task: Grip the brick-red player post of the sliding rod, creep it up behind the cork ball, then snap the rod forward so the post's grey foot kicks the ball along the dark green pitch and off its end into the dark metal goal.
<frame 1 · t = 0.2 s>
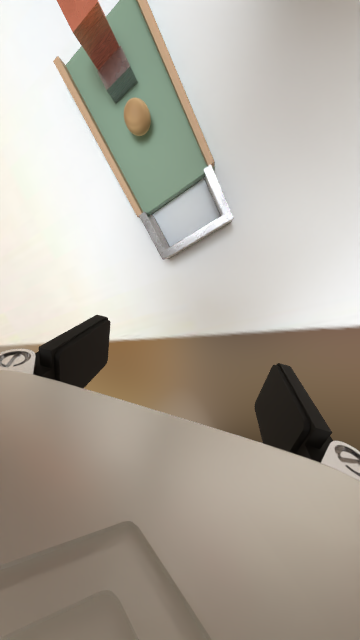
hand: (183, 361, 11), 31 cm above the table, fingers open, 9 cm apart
pitch: (142, 125, 32), on the table
goal: (187, 217, 36), on the table
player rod: (98, 39, 25), point 6 cm above the table, slide at 0.0 cm
ball: (137, 117, 29), point 4 cm above the table, touching pitch
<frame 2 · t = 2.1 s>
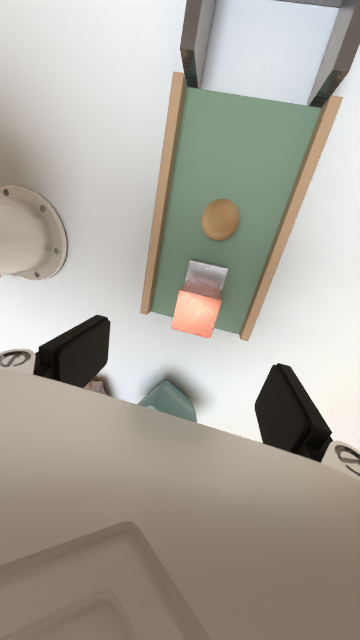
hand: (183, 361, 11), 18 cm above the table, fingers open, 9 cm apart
pitch: (217, 233, 25), on the table
flower pot: (169, 394, 35), on the table
goal: (262, 55, 19), on the table
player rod: (199, 298, 22), point 6 cm above the table, slide at 0.0 cm
ball: (220, 220, 21), point 4 cm above the table, touching pitch
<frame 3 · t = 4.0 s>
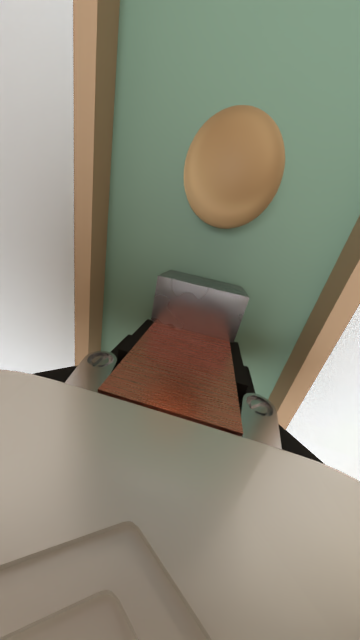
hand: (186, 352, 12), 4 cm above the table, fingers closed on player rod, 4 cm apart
pitch: (221, 216, 12), on the table
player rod: (182, 365, 9), point 6 cm above the table, slide at 0.0 cm, touching gripper
ball: (231, 176, 8), point 4 cm above the table, touching pitch
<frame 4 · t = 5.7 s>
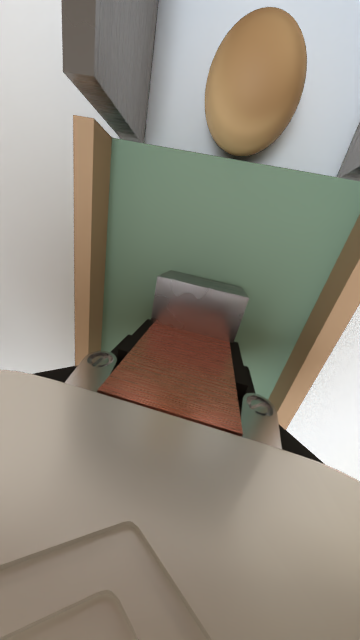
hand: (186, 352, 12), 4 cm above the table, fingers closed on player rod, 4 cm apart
pitch: (187, 349, 16), on the table
goal: (256, 77, 10), on the table
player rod: (182, 365, 9), point 6 cm above the table, slide at 9.7 cm, touching gripper
ball: (251, 95, 8), point 2 cm above the table, tilted 6°
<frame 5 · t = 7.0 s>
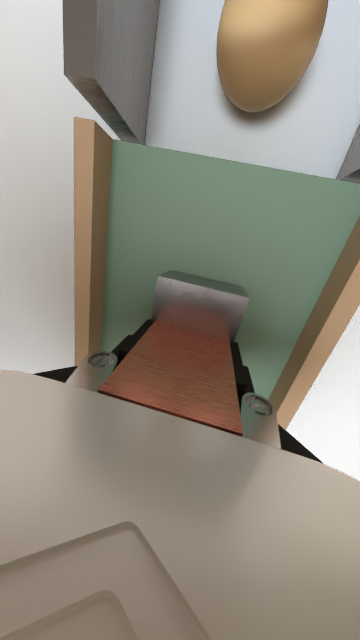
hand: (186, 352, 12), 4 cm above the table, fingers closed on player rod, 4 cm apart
pitch: (187, 349, 16), on the table
goal: (256, 79, 10), on the table
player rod: (182, 365, 9), point 6 cm above the table, slide at 9.8 cm, touching gripper
ball: (266, 39, 8), point 2 cm above the table, tilted 56°
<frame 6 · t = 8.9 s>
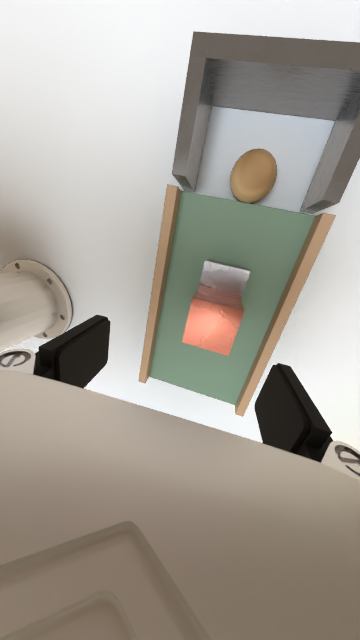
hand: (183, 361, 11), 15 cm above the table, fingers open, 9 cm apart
pitch: (213, 310, 25), on the table
goal: (257, 160, 19), on the table
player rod: (216, 305, 19), point 6 cm above the table, slide at 9.8 cm
ball: (252, 177, 18), point 2 cm above the table
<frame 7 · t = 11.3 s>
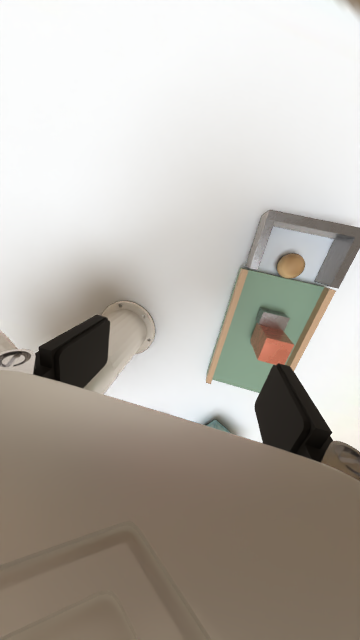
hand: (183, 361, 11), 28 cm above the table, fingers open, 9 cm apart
pitch: (257, 335, 39), on the table
goal: (291, 253, 33), on the table
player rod: (270, 337, 32), point 6 cm above the table, slide at 9.8 cm
ball: (290, 266, 32), point 2 cm above the table
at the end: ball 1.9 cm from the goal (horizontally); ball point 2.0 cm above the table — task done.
